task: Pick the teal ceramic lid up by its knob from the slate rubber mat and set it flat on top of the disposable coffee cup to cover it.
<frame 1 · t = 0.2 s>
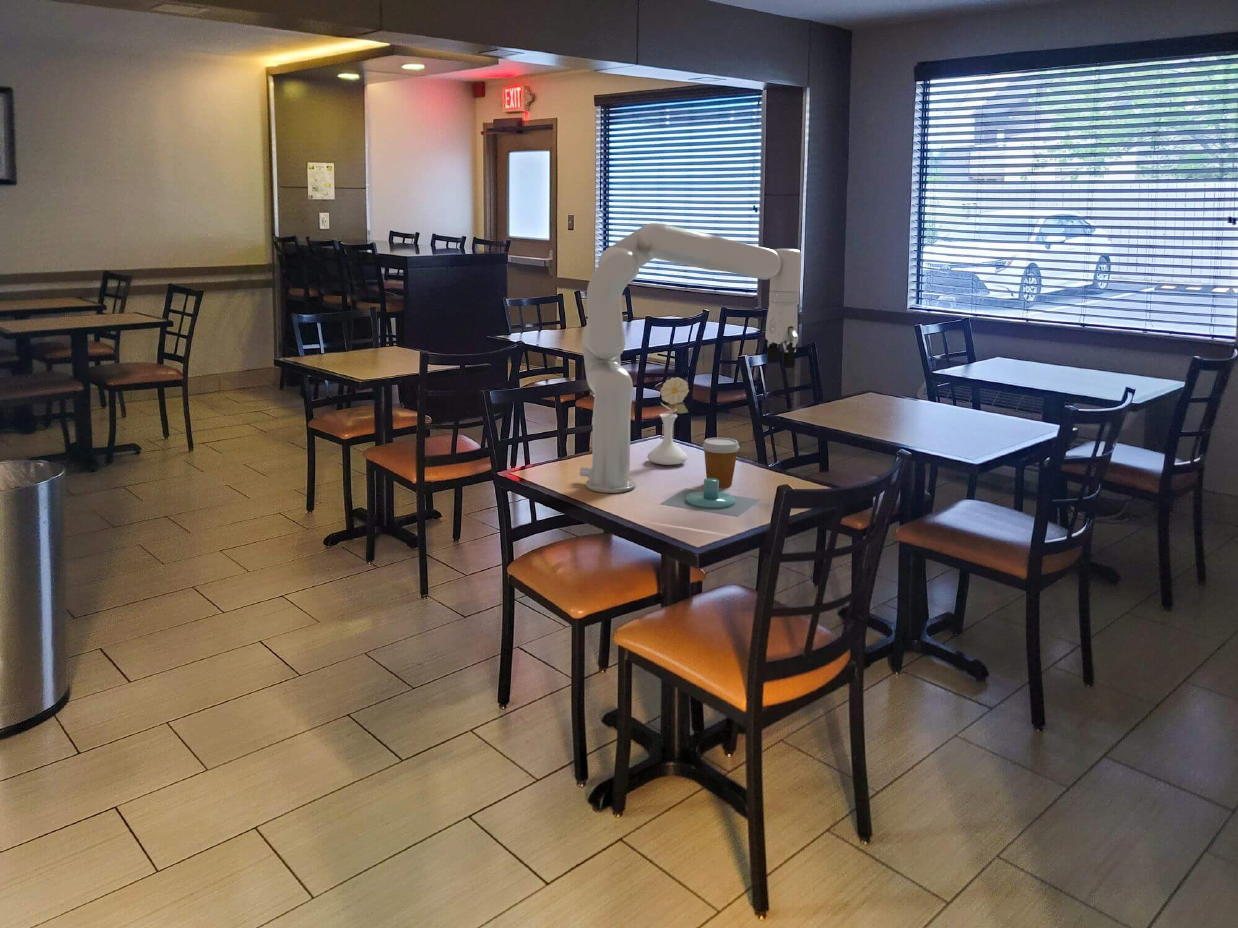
hand: (780, 364, 257), 31 cm above the table, tool pointing down, fingers open, 9 cm apart
lid: (710, 501, 242), resting on mat
flower in vase: (669, 464, 280), on the table
mat: (710, 503, 242), on the table
disposable coffee cup: (719, 486, 258), on the table
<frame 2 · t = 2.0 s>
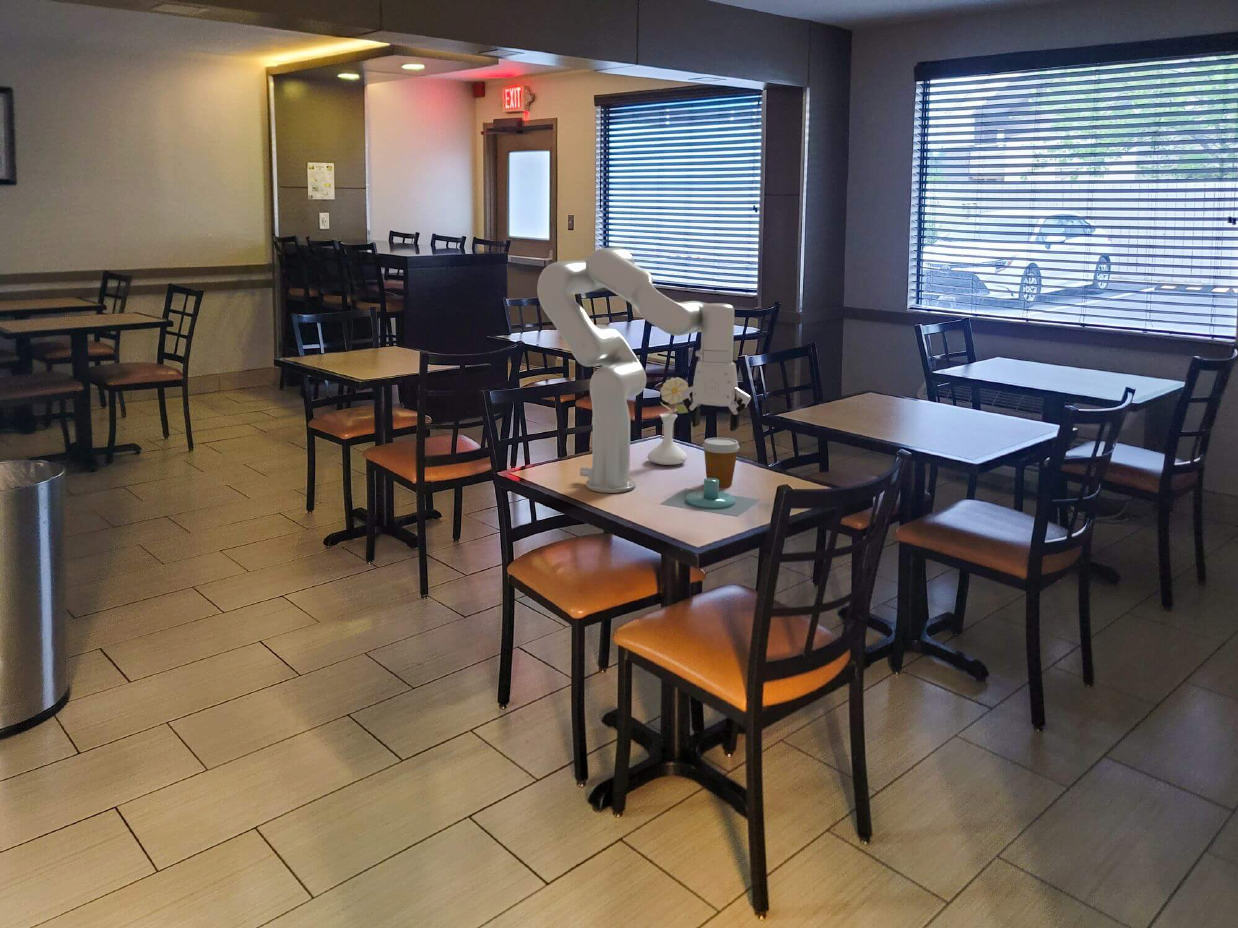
hand: (714, 428, 237), 19 cm above the table, tool pointing down, fingers open, 9 cm apart
nothing on the table moved.
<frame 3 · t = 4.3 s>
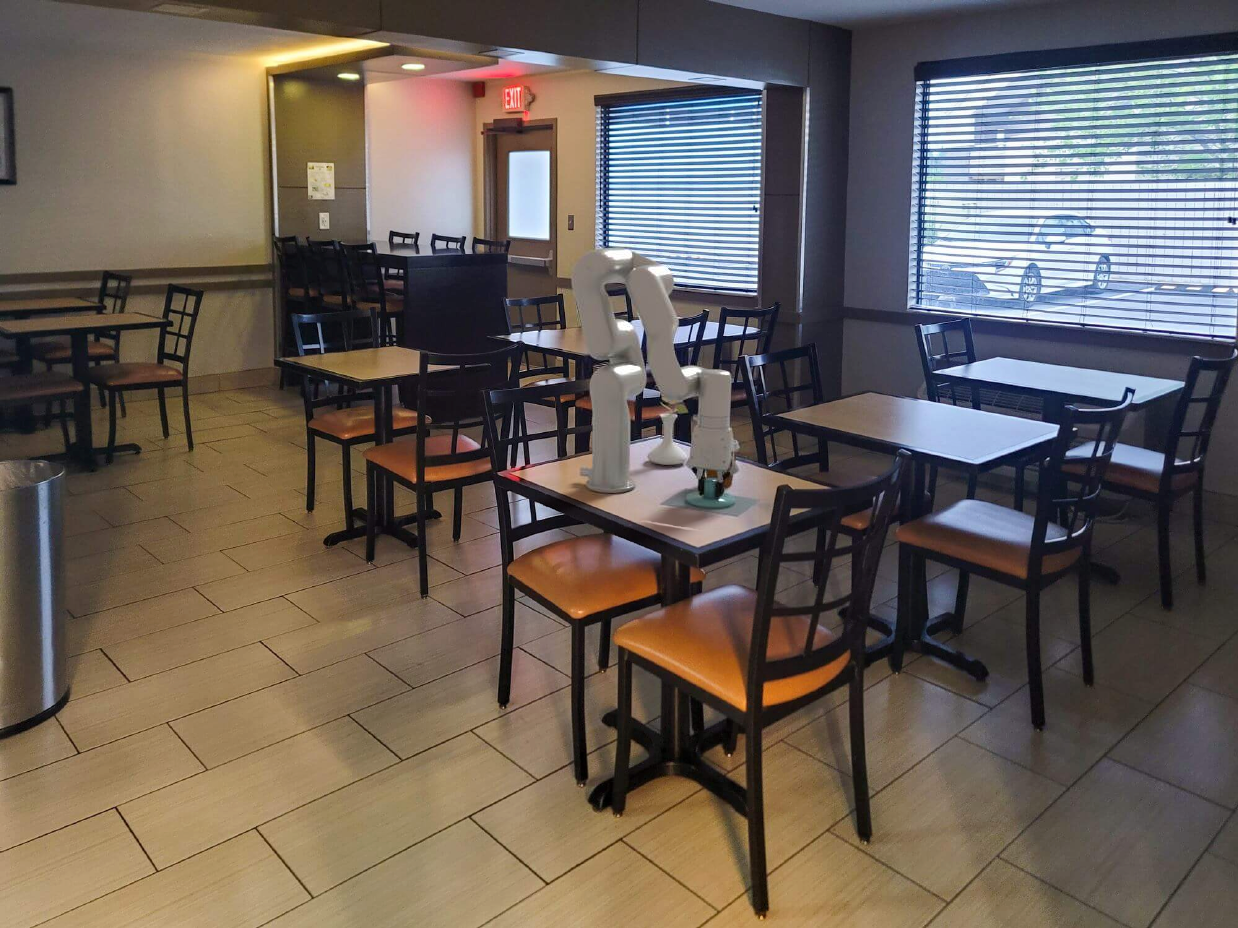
hand: (710, 494, 242), 2 cm above the table, tool pointing down, fingers closed on lid, 3 cm apart
lid: (710, 501, 242), point 1 cm above the table, touching gripper, mat
everything else where it was.
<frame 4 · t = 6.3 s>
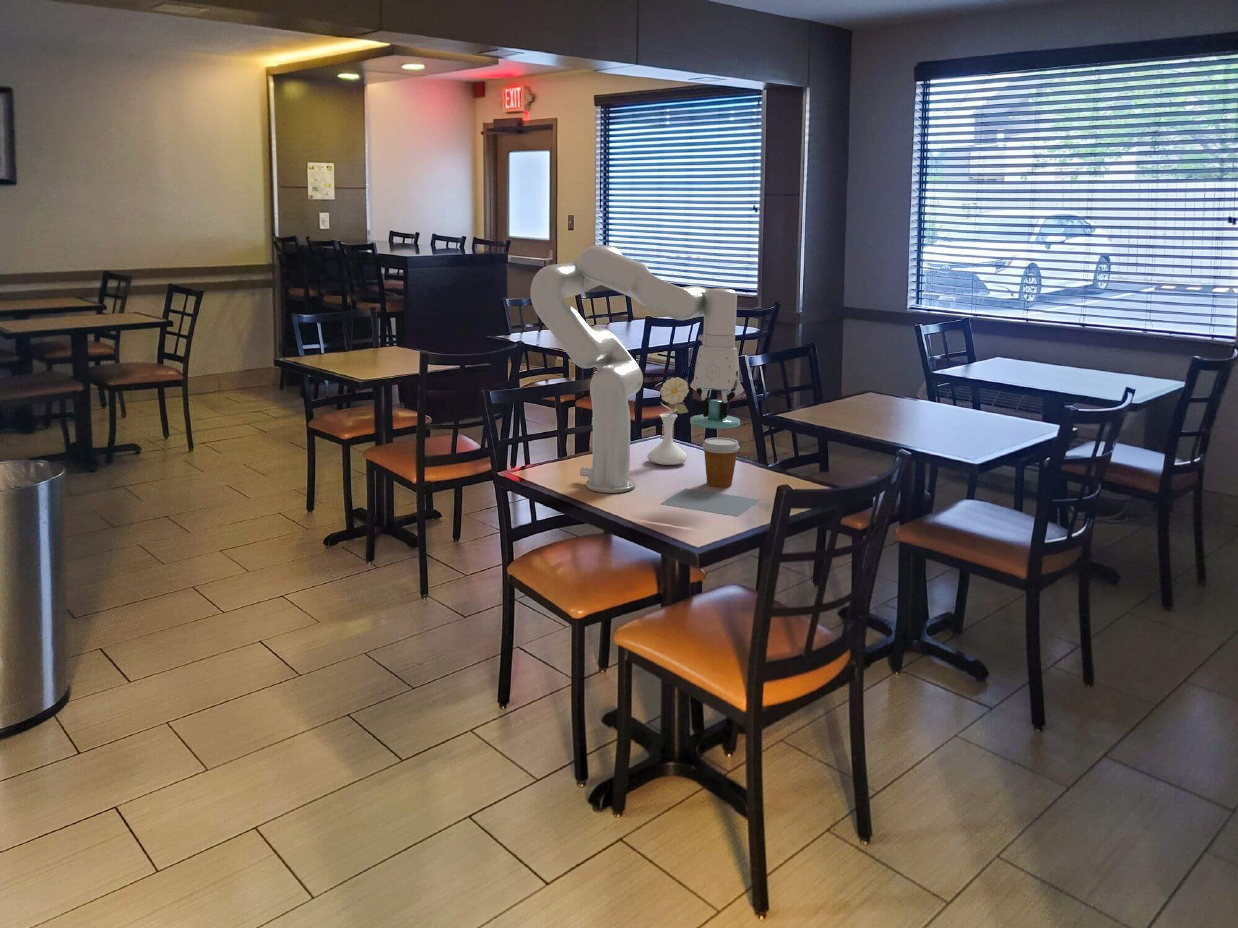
hand: (715, 416, 240), 21 cm above the table, tool pointing down, fingers closed on lid, 3 cm apart
lid: (714, 423, 241), point 19 cm above the table, touching gripper
everything else where it was.
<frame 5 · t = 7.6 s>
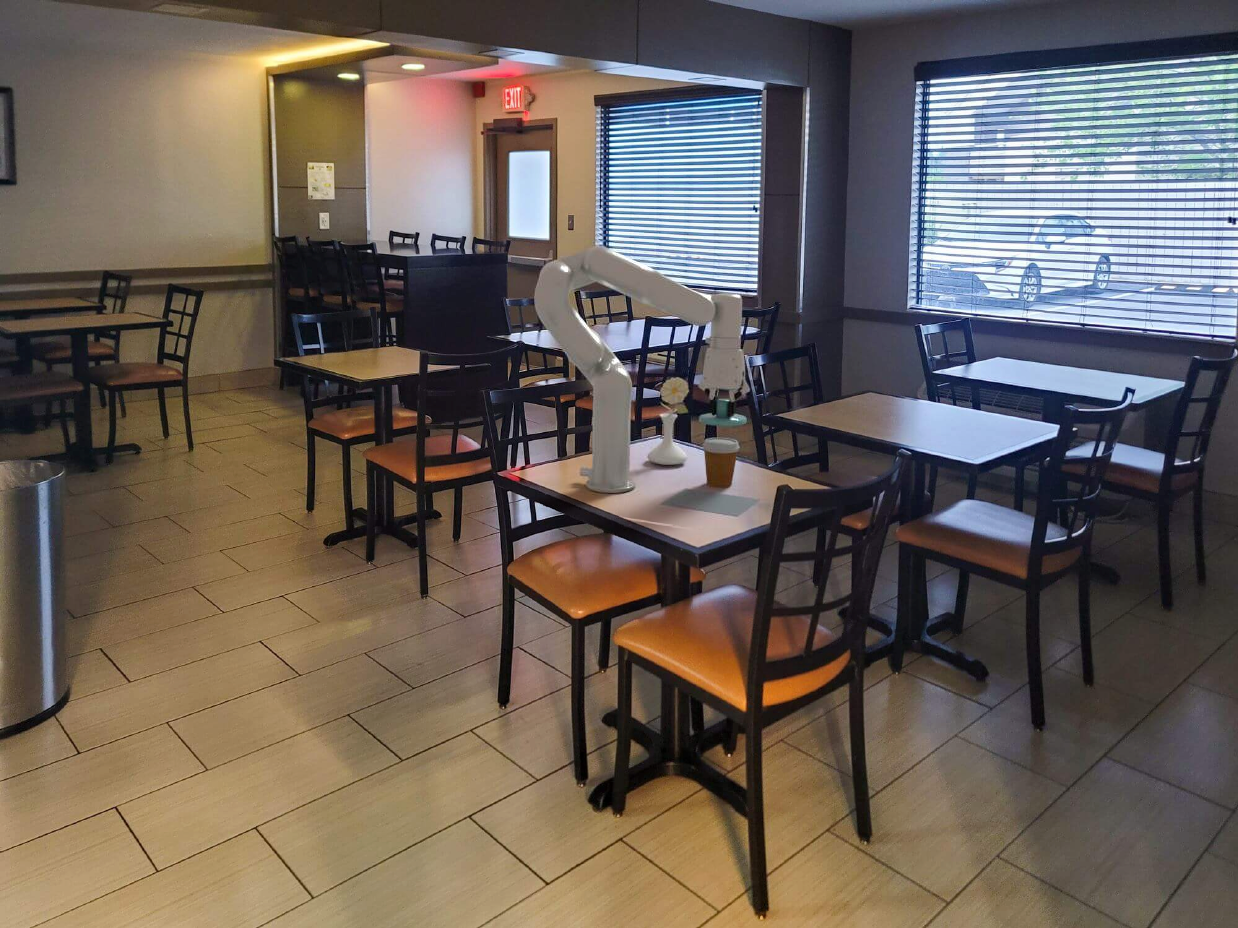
hand: (723, 414, 253), 19 cm above the table, tool pointing down, fingers closed on lid, 3 cm apart
lid: (722, 421, 254), point 17 cm above the table, touching gripper
everything else where it was.
when the fingers open (15 cm above the table, at t = 8.5 s): lid stays where it is, resting on disposable coffee cup.
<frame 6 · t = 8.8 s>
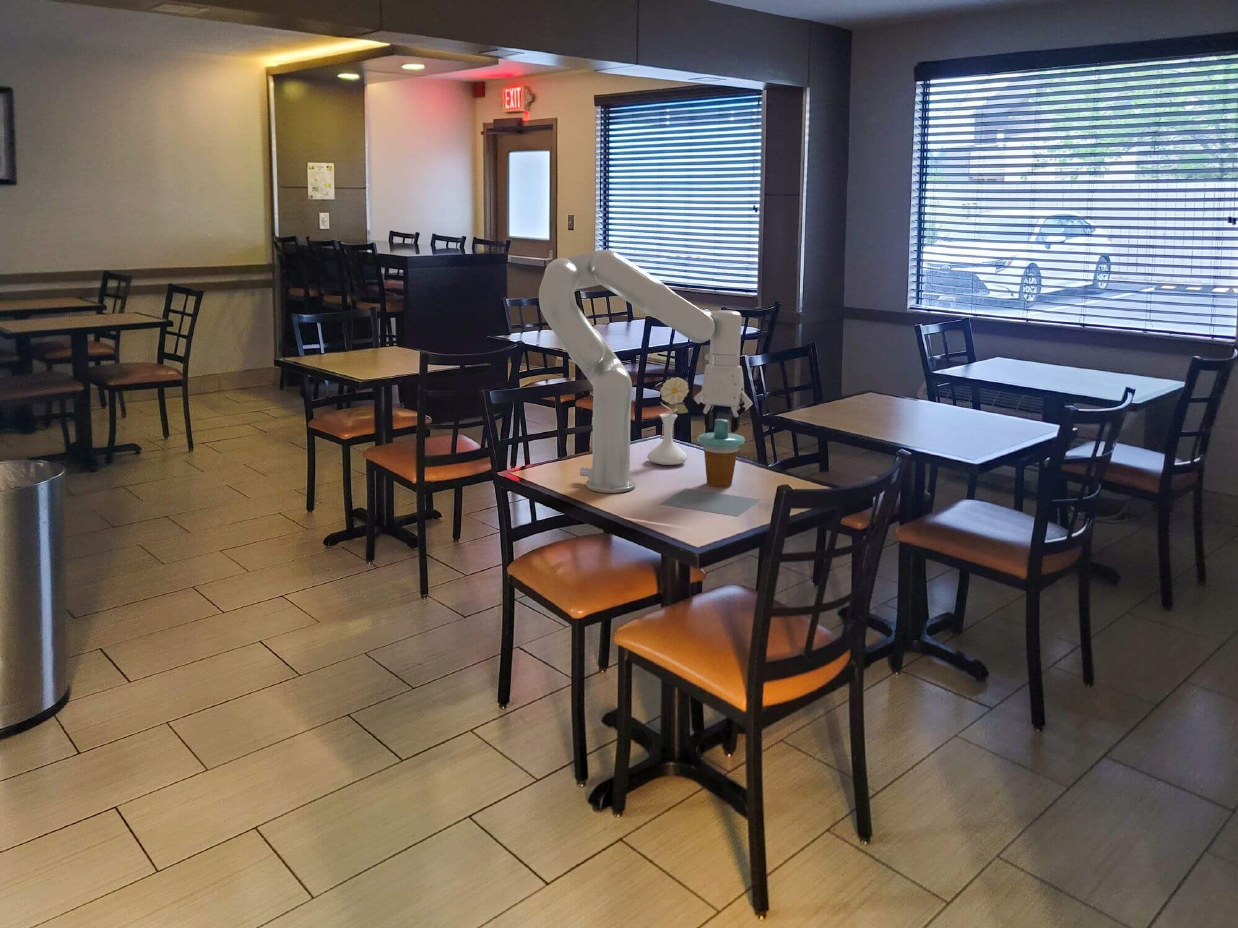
hand: (721, 429, 254), 15 cm above the table, tool pointing down, fingers open, 6 cm apart
lid: (720, 441, 255), point 12 cm above the table, touching disposable coffee cup
disposable coffee cup: (719, 486, 258), on the table, touching lid
everything else where it was.
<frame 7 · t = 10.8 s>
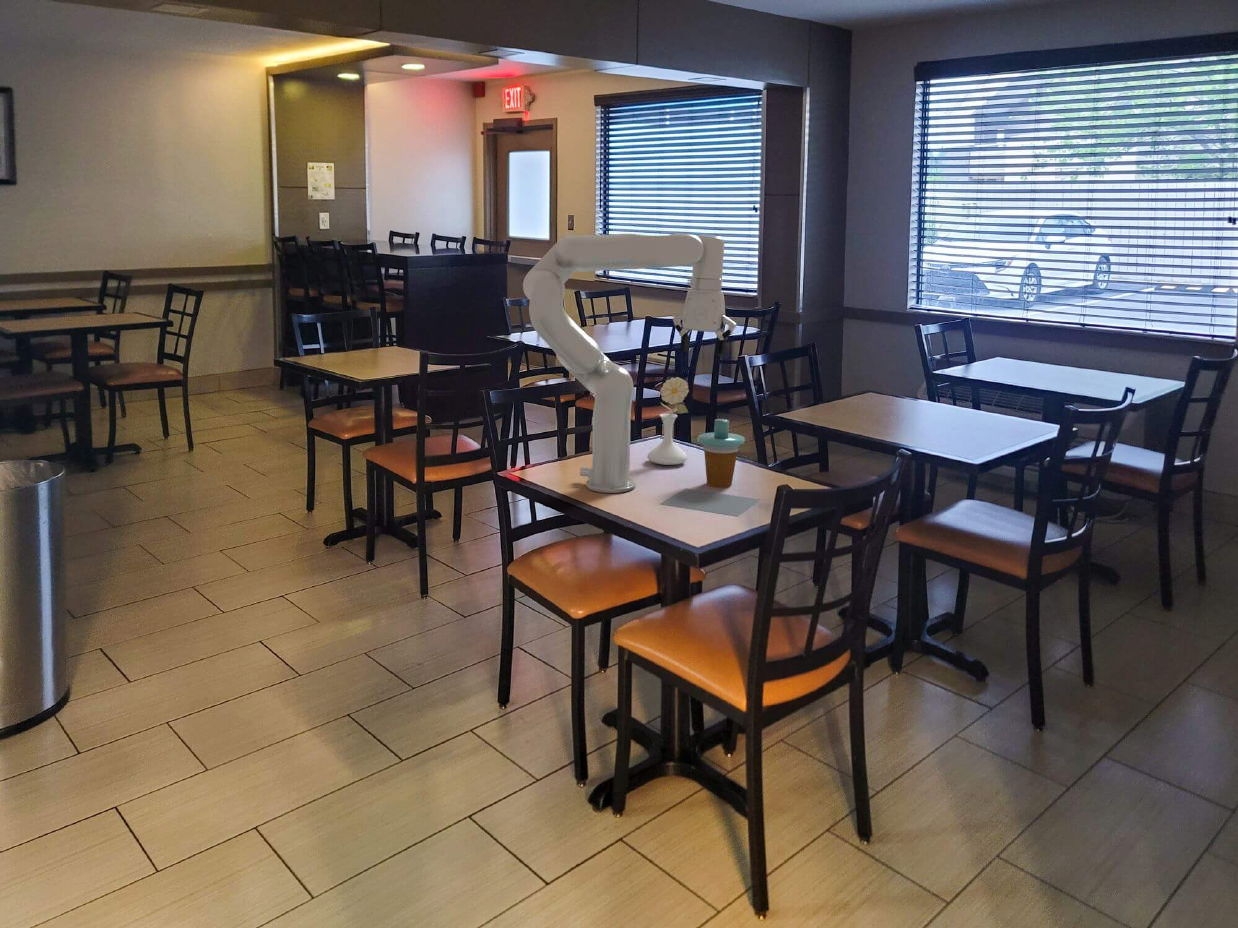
hand: (702, 353, 254), 34 cm above the table, tool pointing down, fingers open, 9 cm apart
nothing on the table moved.
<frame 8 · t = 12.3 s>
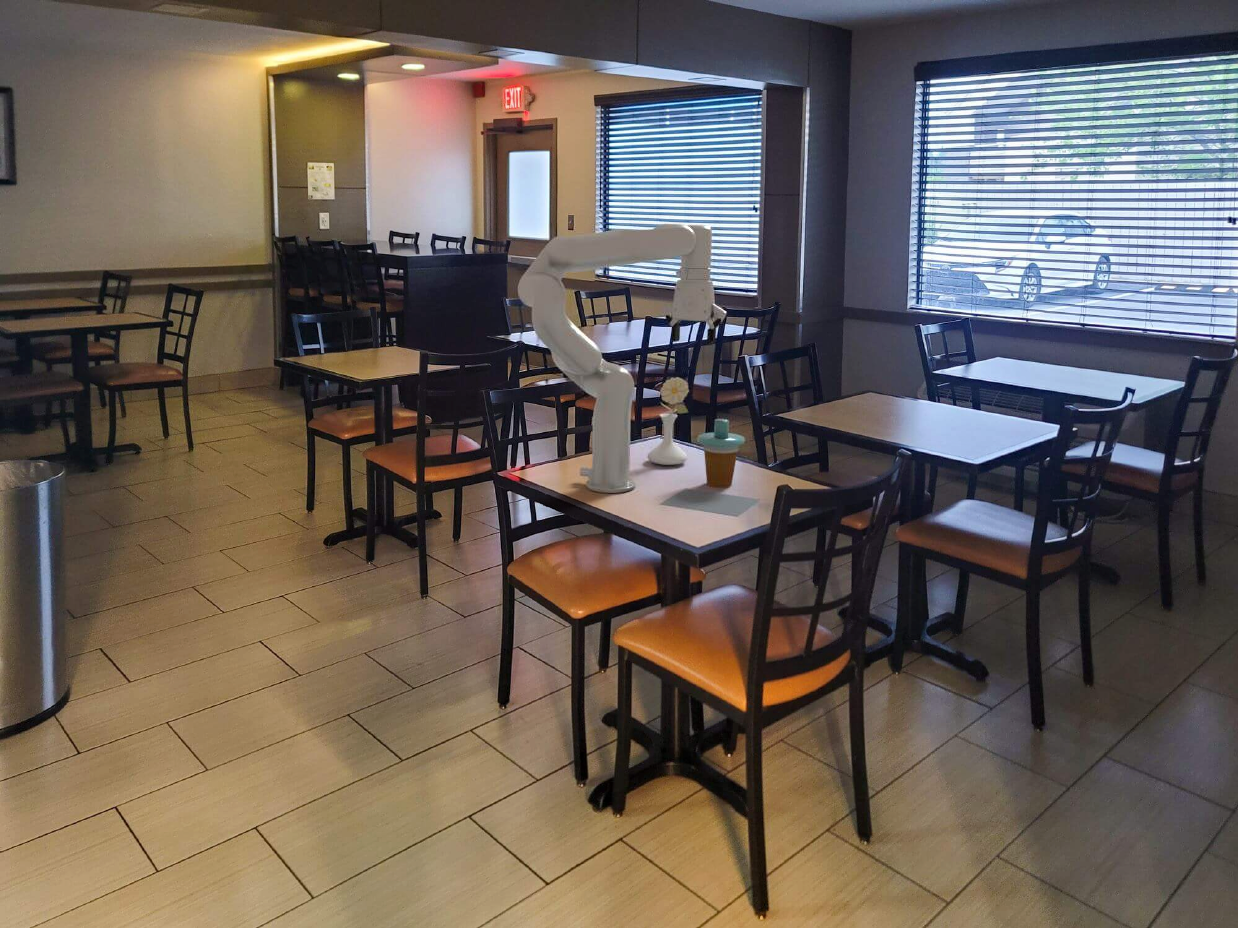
hand: (693, 342, 256), 36 cm above the table, tool pointing down, fingers open, 9 cm apart
nothing on the table moved.
at the end: lid 0.1 cm off-centre on the disposable coffee cup, point 12.2 cm above the disposable coffee cup's base; disposable coffee cup tilted 0°; lid tilted 0° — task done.
